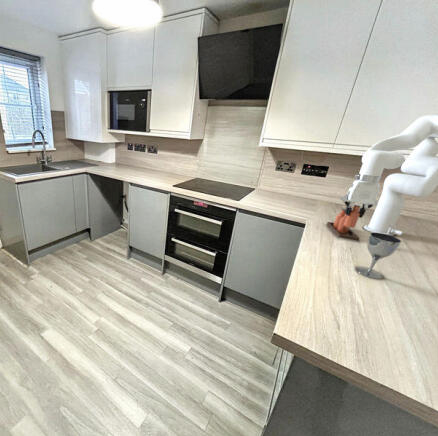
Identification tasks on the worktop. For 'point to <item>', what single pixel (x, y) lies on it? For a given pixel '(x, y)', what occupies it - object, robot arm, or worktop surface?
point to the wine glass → (379, 251)
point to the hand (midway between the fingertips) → (353, 215)
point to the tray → (348, 235)
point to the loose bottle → (352, 217)
